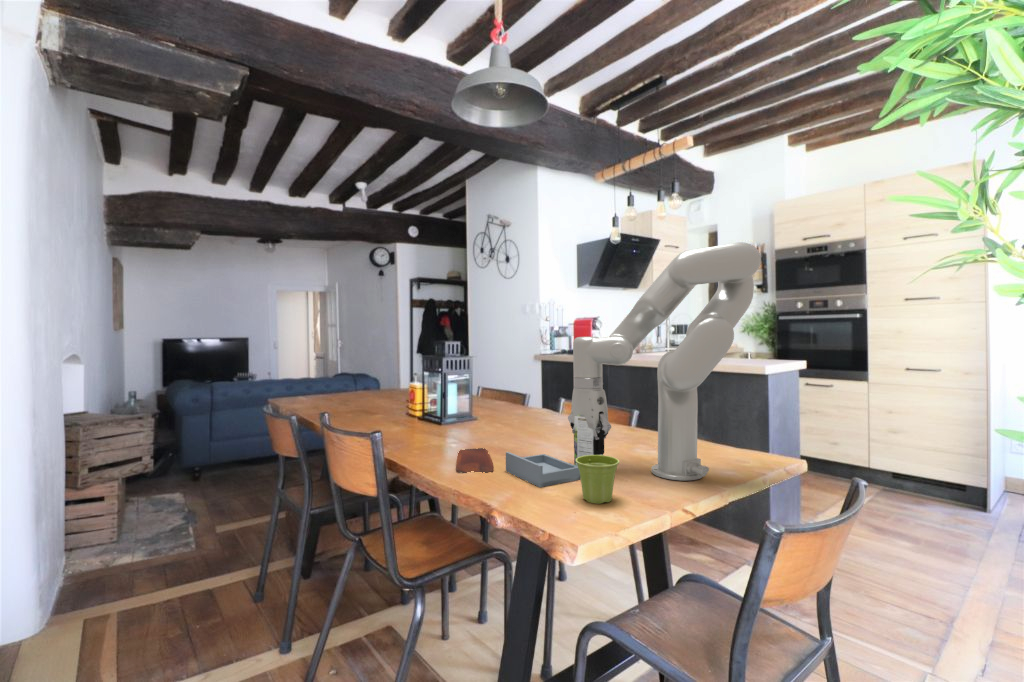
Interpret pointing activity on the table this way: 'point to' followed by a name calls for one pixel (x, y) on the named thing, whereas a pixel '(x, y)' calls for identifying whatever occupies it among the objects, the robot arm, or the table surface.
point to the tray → (541, 469)
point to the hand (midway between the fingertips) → (588, 450)
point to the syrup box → (582, 438)
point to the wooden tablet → (474, 461)
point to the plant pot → (597, 477)
